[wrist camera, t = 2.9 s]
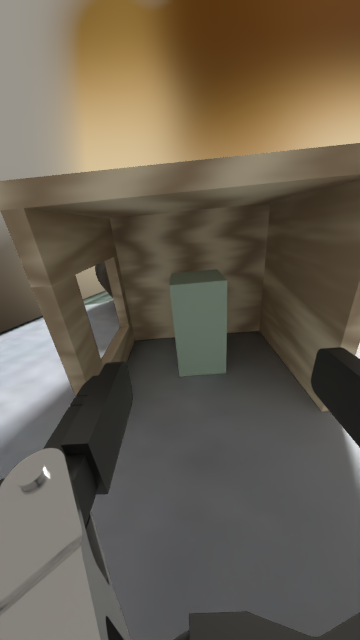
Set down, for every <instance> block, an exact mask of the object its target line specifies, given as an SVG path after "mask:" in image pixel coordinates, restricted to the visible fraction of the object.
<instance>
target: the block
mask: <svg viewBox="0 0 360 640" xmlns="http://www.w3.org/2000/svg"><path fill="white" fill-rule="evenodd" d="M169 287H170V296H171V305H172V314H173V323H174V332H175V341H176V350H177V359H178V368H179V376H193V375H207V374H221V373H226V353H227V280H226V278H225V277H224V276H223V275H222V274H221V273H220V272H219V271H218V270H217V269H215V270H203V271H192V272H181V273H171V278H170V284H169Z"/></svg>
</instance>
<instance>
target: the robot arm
mask: <svg viewBox="0 0 360 640" xmlns="http://www.w3.org/2000/svg"><path fill="white" fill-rule="evenodd" d="M311 386H312V389H313V391H314V393H315V394H316V395H317V397H318V398H319V399H320V400H321V401H322V403H323V404H324V405H325V406H326V407H327V409H328V410H329V411H330V412H331V413H332V415H333V416H334V417H335V418H336V419H337V421H338V422H339V423H340V424H341V425H342V427H343V428H344V429H345V430H346V431H347V433H348V434H349V435H350V436H351V437H352V439H353V440H354V441H355V442H356V443H357V445H358V446H359V447H360V359H359V358H357V357H356V356H355V355H353V354H352V353H350V352H349V351H348V350H346V349H345V348H342V347H336V348H322V349H319V350H318V352H317V354H316V359H315V363H314V367H313V371H312V376H311ZM132 399H133V393H132V387H131V382H130V378H129V373H128V369H127V365H126V362H124V361H123V362H108V363H105V365H104V367H103V368H102V370H101V372H100V374H99V375H97V376H92V377H91V378H90V379H89V380H88V381H87V382H86V383H84V384H83V385H82V387H81V389H80V390H79V392H78V394H77V395H76V398H74V400H73V402H72V403H71V406H70V407H69V408H68V410H67V411H66V413H65V415H64V416H63V418H62V419H61V421H60V423H59V424H58V426H57V428H56V429H55V431H54V432H53V434H52V436H51V437H50V439H49V440H48V442H47V444H46V445H45V447H44V448H43V449H42V450H39V451H37V452H35V453H33V454H31V455H29V456H28V457H26V458H25V459H23V460H22V461H21V462H20V463H18V464H17V465H16V466H15V467H14V468H13V469H12V470H11V471H10V473H9V474H8V475H7V476H6V478H4V479H2V480H0V640H131V638H130V635H129V632H128V628H127V625H126V622H125V619H124V616H123V613H122V610H121V607H120V604H119V602H118V599H117V597H116V594H115V591H114V588H113V585H112V581H111V578H110V575H109V571H108V568H107V564H106V561H105V557H104V554H103V550H102V547H101V543H100V540H99V536H98V533H97V529H96V526H95V522H94V519H93V516H92V512H91V508H92V505H93V502H94V499H95V495H96V494H108V492H109V488H110V484H111V480H112V477H113V473H114V469H115V465H116V462H117V458H118V454H119V450H120V447H121V443H122V439H123V436H124V432H125V428H126V424H127V421H128V417H129V413H130V409H131V406H132ZM189 626H190V630H188V631H186V632H184V633H183V634H181V635H179V636H178V637H176V638H175V639H174V640H360V612H359V613H358V614H356V615H355V616H353V617H351V618H350V619H348V620H347V621H345V622H343V623H342V624H340V625H339V626H337V627H335V628H334V629H332V630H331V631H329V632H327V633H326V634H324V635H322V636H320V637H311V636H308V635H305V634H303V633H300V632H298V631H295V630H293V629H290V628H287V627H285V626H282V625H280V624H277V623H275V622H272V621H270V620H267V619H264V618H262V617H259V616H257V615H254V614H252V613H249V612H247V611H246V612H218V613H191V614H189Z"/></svg>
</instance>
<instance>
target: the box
mask: <svg viewBox="0 0 360 640" xmlns="http://www.w3.org/2000/svg"><path fill="white" fill-rule="evenodd" d="M0 211H1V213H2V215H3V218H4V221H5V223H6V225H7V228H8V231H9V233H10V236H11V238H12V240H13V243H14V245H15V248H16V250H17V253H18V255H19V258H20V260H21V262H22V265H23V268H24V270H25V273H26V275H27V278H28V280H29V282H30V285H31V288H32V290H33V292H34V295H35V297H36V300H37V302H38V305H39V307H40V310H41V312H42V315H43V317H44V320H45V322H46V325H47V327H48V330H49V332H50V335H51V337H52V339H53V342H54V344H55V347H56V349H57V352H58V354H59V357H60V359H61V362H62V364H63V367H64V369H65V372H66V374H67V377H68V379H69V382H70V384H71V387H72V389H73V391H74V394H75V396H76V395H77V394H78V392H79V390H80V389H81V387H82V385H83V384H84V383H86V382H87V381H88V380H89V379H90V378H91V377H92V376H97V375H99V374H100V372H101V370H102V368H103V367H104V365H105V363H108V362H123V361H124V362H127V360H128V357H129V355H130V352H131V350H132V347H133V344H134V342H135V340H147V339H159V338H172V337H175V332H174V323H173V314H172V305H171V296H170V287H169V284H170V278H171V273H181V272H192V271H203V270H215V269H217V270H218V271H219V272H220V273H221V274H222V275H223V276H224V277H225V278H226V280H227V333H236V332H249V331H260V332H261V334H262V335H263V336H264V338H265V339H266V340H267V341H268V343H269V344H270V345H271V347H272V348H273V349H274V351H275V352H276V353H277V354H278V356H279V357H280V358H281V360H282V361H283V362H284V363H285V365H286V366H287V367H288V369H289V370H290V371H291V373H292V374H293V375H294V376H295V378H296V379H297V380H298V382H299V383H300V384H301V385H302V387H303V388H304V389H305V391H306V392H307V393H308V394H309V396H310V397H311V398H312V400H313V401H314V402H315V404H316V405H317V406H318V407H319V409H320V410H321V411H322V412H324V411H329V410H328V409H327V407H326V406H325V405H324V404H323V403H322V401H321V400H320V399H319V398H318V397H317V395H316V394H315V393H314V391H313V389H312V386H311V376H312V371H313V367H314V363H315V359H316V354H317V352H318V350H319V349H322V348H336V347H342V348H345V349H346V350H348V351H349V352H350V353H352V354H353V355H355V354H356V351H357V348H358V345H359V342H360V143H356V144H346V145H337V146H327V147H318V148H309V149H299V150H290V151H280V152H271V153H261V154H251V155H242V156H233V157H223V158H214V159H205V160H195V161H185V162H177V163H167V164H157V165H148V166H138V167H129V168H119V169H110V170H101V171H91V172H81V173H72V174H63V175H53V176H44V177H35V178H25V179H16V180H6V181H0ZM104 261H105V265H106V270H107V274H108V278H109V282H110V287H111V291H112V295H113V299H114V303H115V308H116V312H117V316H118V320H119V325H120V328H119V330H118V332H117V333H116V335H115V337H114V338H113V340H112V342H111V343H110V345H109V347H108V349H107V350H106V352H105V354H104V355H103V357H102V359H101V358H100V355H99V352H98V348H97V345H96V342H95V338H94V335H93V332H92V329H91V325H90V322H89V319H88V315H87V312H86V309H85V305H84V302H83V299H82V296H81V292H80V289H79V286H78V283H77V279H76V276H75V274H78V273H80V272H82V271H84V270H86V269H88V268H91V267H93V266H95V265H97V264H99V263H101V262H104Z"/></svg>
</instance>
